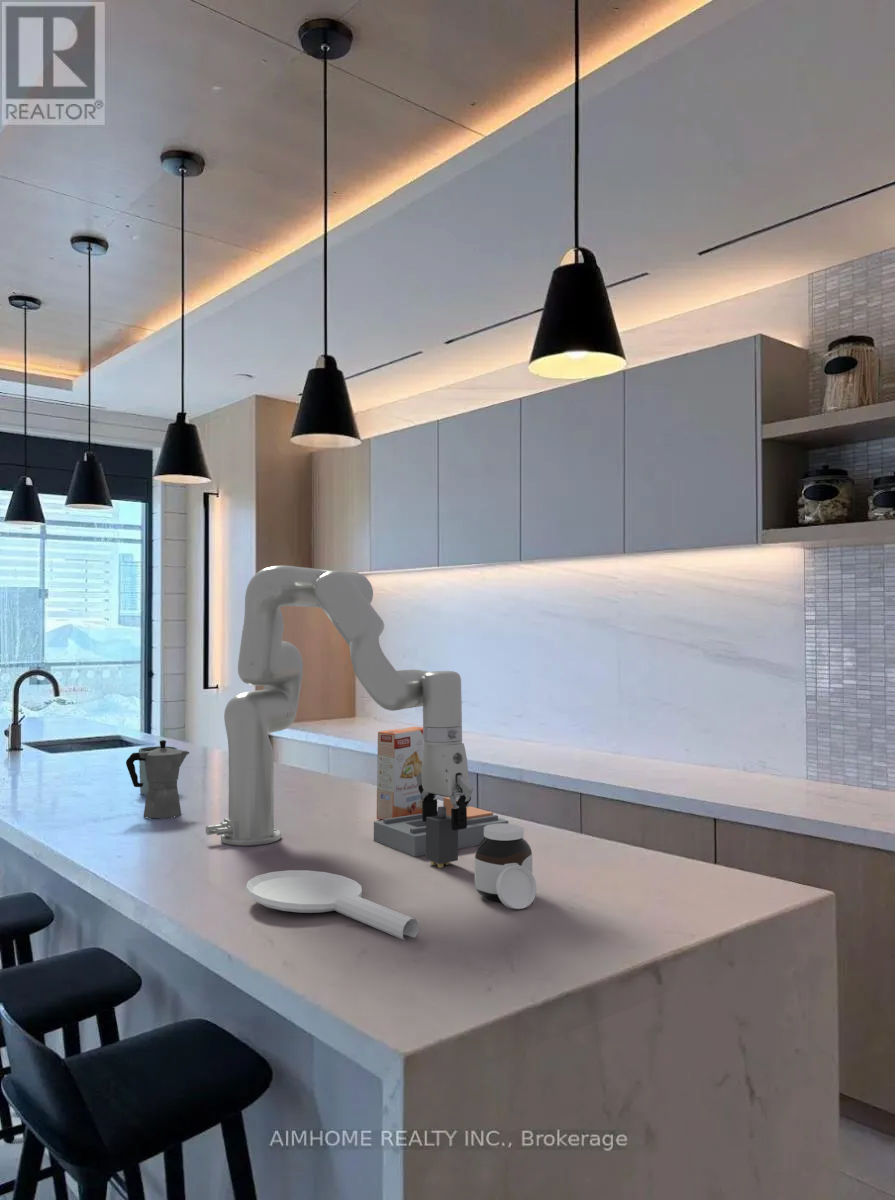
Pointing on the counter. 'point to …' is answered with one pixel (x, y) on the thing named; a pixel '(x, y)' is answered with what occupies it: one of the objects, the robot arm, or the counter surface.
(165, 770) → the coffeepot
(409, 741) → the cracker box
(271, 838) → the robot arm
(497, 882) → the spread jar
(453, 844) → the plug
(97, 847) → the counter surface
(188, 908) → the counter surface
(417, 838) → the socket block
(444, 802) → the tan l-shaped bracket
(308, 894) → the frying pan
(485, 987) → the counter surface
